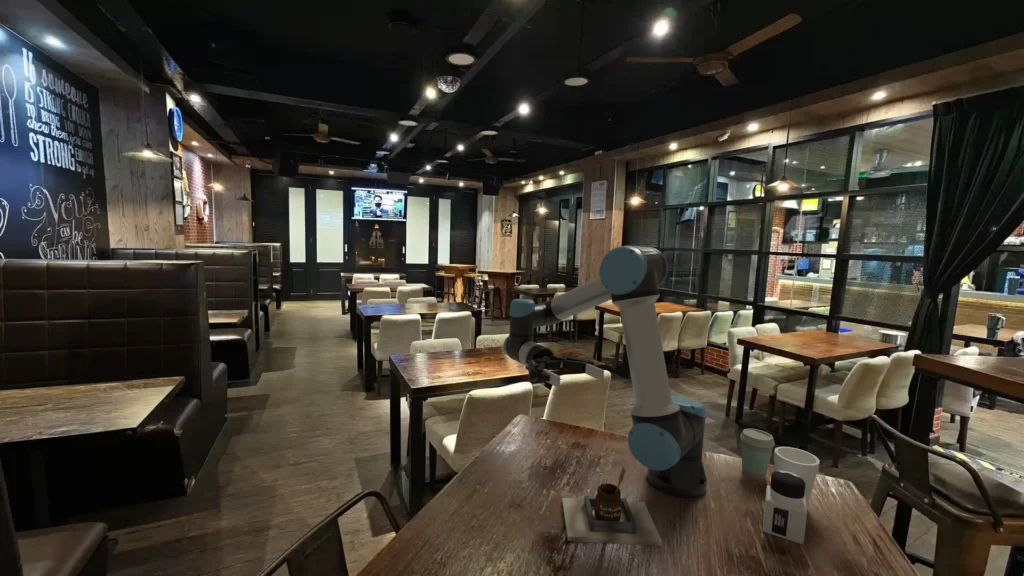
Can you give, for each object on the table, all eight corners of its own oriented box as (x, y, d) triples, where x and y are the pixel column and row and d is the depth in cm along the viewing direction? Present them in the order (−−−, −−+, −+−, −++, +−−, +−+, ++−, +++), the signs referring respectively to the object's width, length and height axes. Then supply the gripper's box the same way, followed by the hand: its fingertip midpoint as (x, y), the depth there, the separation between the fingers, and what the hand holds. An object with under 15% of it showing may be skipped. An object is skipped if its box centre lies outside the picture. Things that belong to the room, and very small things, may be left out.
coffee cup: (776, 484, 117) (780, 442, 116) (742, 480, 118) (746, 438, 117) (764, 469, 125) (768, 429, 124) (732, 464, 127) (736, 426, 126)
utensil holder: (591, 510, 101) (593, 461, 100) (616, 509, 101) (620, 461, 100) (598, 526, 95) (601, 475, 94) (625, 526, 96) (629, 475, 94)
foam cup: (809, 500, 110) (815, 452, 109) (817, 520, 102) (824, 469, 100) (767, 490, 114) (772, 443, 113) (771, 509, 106) (777, 459, 104)
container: (803, 545, 93) (810, 489, 91) (762, 532, 97) (768, 477, 96) (802, 526, 99) (808, 473, 98) (763, 514, 103) (769, 463, 102)
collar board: (643, 505, 105) (644, 494, 105) (661, 546, 91) (662, 532, 91) (562, 501, 105) (562, 490, 105) (567, 540, 92) (568, 527, 91)
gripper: (570, 365, 131) (618, 387, 113) (498, 374, 119) (538, 400, 101) (572, 341, 130) (620, 359, 112) (499, 348, 119) (539, 369, 100)
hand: (581, 378), depth 106 cm, fingers open, 13 cm apart
